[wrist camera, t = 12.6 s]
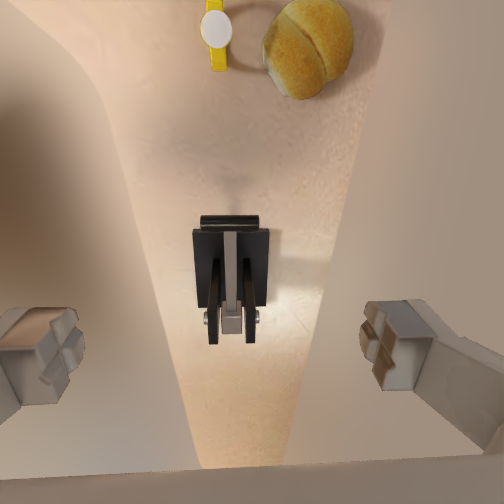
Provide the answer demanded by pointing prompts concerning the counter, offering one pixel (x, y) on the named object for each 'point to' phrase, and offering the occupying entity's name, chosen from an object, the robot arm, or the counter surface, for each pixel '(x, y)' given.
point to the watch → (216, 33)
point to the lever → (230, 262)
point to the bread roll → (307, 46)
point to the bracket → (248, 276)
